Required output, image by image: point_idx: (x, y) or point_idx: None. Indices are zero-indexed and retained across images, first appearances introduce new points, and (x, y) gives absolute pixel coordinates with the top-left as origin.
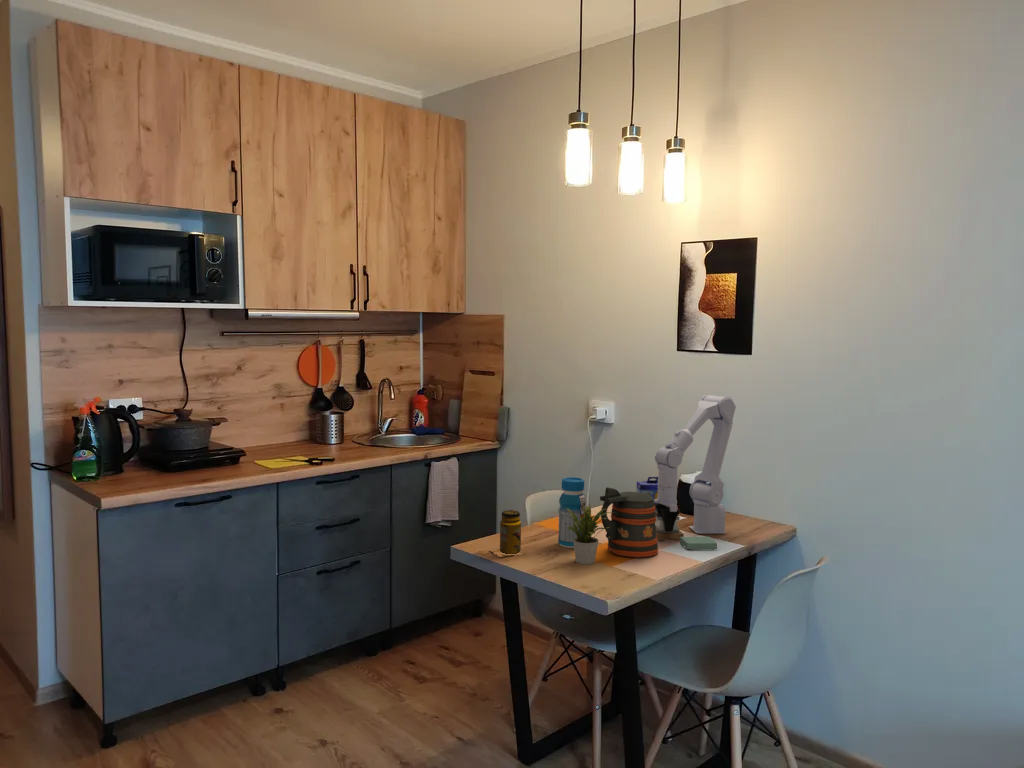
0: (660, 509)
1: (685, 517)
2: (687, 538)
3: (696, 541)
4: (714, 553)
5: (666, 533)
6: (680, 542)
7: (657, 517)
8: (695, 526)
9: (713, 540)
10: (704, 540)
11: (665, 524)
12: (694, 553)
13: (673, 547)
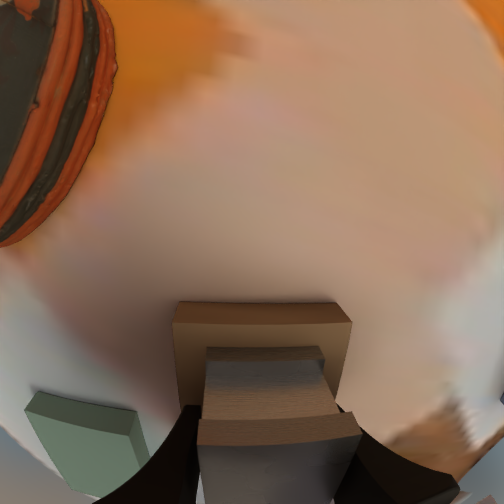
0: (368, 501)
1: (475, 449)
2: (105, 448)
3: (66, 453)
4: (36, 446)
5: (196, 399)
6: (129, 414)
7: (199, 442)
8: (332, 501)
9: (102, 497)
10: (92, 480)
11: (165, 439)
12: (10, 392)
13: (60, 354)
